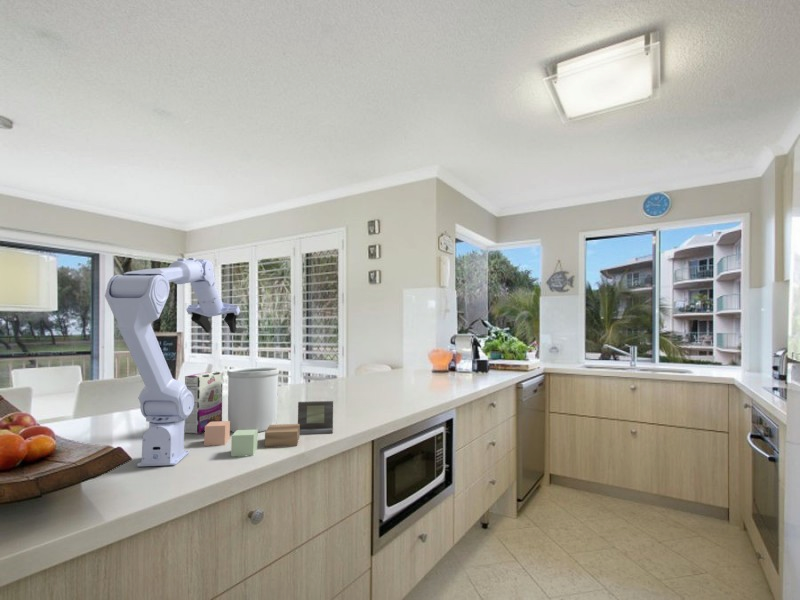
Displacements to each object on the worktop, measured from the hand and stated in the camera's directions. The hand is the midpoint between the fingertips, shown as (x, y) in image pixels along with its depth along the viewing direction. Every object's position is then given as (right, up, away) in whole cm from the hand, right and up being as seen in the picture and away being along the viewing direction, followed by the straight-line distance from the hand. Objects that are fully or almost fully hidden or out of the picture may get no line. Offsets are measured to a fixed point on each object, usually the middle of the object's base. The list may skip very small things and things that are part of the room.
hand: (221, 330), depth 125 cm
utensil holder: (+10, -29, 0) cm, 31 cm away
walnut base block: (+23, -29, -15) cm, 40 cm away
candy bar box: (-4, -29, -2) cm, 30 cm away
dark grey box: (+29, -29, -4) cm, 41 cm away
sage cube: (+16, -28, -25) cm, 41 cm away
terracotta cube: (+6, -28, -16) cm, 33 cm away
